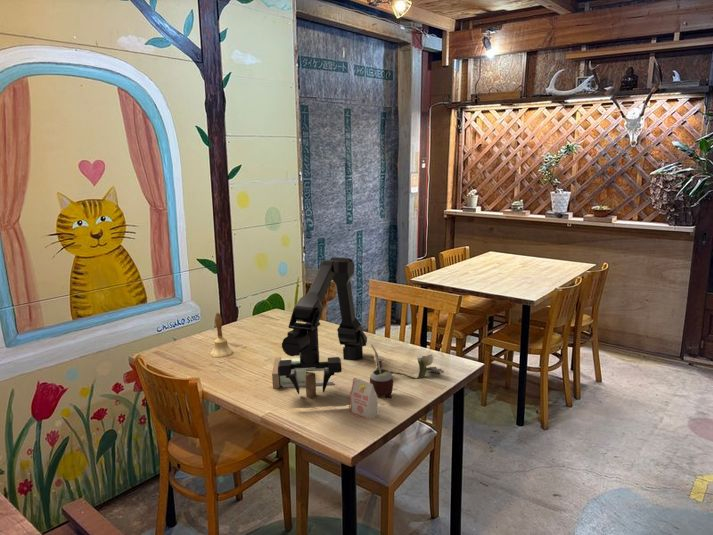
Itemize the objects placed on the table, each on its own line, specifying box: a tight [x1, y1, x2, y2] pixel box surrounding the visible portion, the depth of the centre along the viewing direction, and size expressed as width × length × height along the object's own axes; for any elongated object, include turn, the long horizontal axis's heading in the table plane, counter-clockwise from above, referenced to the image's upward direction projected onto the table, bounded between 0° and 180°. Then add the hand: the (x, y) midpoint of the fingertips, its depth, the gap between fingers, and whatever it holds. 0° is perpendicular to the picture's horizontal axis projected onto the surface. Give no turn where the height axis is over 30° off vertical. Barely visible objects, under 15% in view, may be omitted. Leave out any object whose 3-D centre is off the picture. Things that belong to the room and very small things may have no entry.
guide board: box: [271, 357, 335, 389], centre depth 168 cm, size 20×13×6 cm, turn 95°
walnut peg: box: [305, 371, 317, 399], centre depth 156 cm, size 3×3×8 cm
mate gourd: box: [369, 344, 394, 400], centre depth 155 cm, size 8×8×15 cm
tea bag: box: [349, 377, 378, 421], centre depth 146 cm, size 4×7×10 cm, turn 50°
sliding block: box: [280, 357, 307, 387], centre depth 168 cm, size 8×10×5 cm
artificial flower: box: [375, 354, 445, 380], centre depth 170 cm, size 9×22×10 cm, turn 90°
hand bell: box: [210, 312, 234, 358], centre depth 193 cm, size 8×8×16 cm
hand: (311, 392), depth 156 cm, fingers open, 7 cm apart
